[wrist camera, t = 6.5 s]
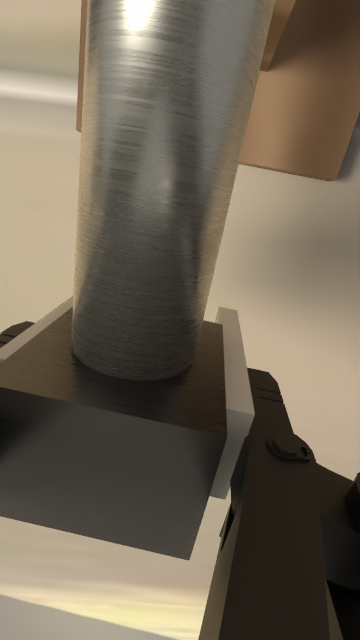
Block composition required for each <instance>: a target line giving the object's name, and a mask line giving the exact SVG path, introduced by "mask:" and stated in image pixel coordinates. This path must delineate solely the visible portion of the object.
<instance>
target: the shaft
mask: <svg viewBox="0 0 360 640" xmlns="http://www.w3.org/2000/svg"><path fill="white" fill-rule="evenodd" d="M275 1H276V0H88V5H87V26H86V46H85V67H84V88H83V108H82V129H81V150H80V171H79V191H78V212H77V233H76V254H75V274H74V295H73V307H71V308H70V309H69V310H68V311H66V312H65V313H64V314H63V315H61V316H60V317H59V318H57V319H56V320H55V321H54V322H52V323H51V324H50V325H49V326H47V327H46V328H45V329H43V330H42V331H41V332H40V333H38V334H37V335H36V336H35V337H33V338H32V339H31V340H29V341H28V342H27V343H26V344H24V345H23V346H22V347H21V348H19V349H18V350H17V351H16V352H14V353H13V354H12V355H10V356H9V357H8V358H7V359H5V360H4V361H3V362H2V363H0V516H2V517H6V518H11V519H15V520H19V521H23V522H28V523H32V524H36V525H40V526H45V527H49V528H53V529H57V530H62V531H66V532H70V533H74V534H79V535H83V536H87V537H91V538H96V539H100V540H104V541H108V542H113V543H117V544H121V545H125V546H130V547H134V548H138V549H142V550H147V551H151V552H155V553H159V554H164V555H168V556H172V557H176V558H181V559H185V560H189V559H190V556H191V553H192V550H193V546H194V543H195V540H196V537H197V534H198V530H199V527H200V524H201V521H202V517H203V514H204V511H205V508H206V505H207V501H208V498H209V495H210V492H211V488H212V485H213V482H214V479H215V476H216V472H217V469H218V466H219V463H220V460H221V456H222V453H223V450H224V447H225V443H226V440H227V414H226V391H225V368H224V344H223V325H222V324H218V323H213V322H208V321H203V318H204V313H205V309H206V304H207V300H208V296H209V291H210V287H211V282H212V278H213V274H214V269H215V265H216V260H217V256H218V252H219V247H220V243H221V238H222V234H223V230H224V225H225V221H226V216H227V212H228V208H229V203H230V199H231V194H232V190H233V185H234V181H235V177H236V172H237V168H238V163H239V159H240V155H241V150H242V146H243V141H244V137H245V133H246V128H247V124H248V119H249V115H250V111H251V106H252V102H253V97H254V93H255V89H256V84H257V80H258V75H259V71H260V67H261V62H262V58H263V53H264V49H265V45H266V40H267V36H268V31H269V27H270V23H271V18H272V14H273V9H274V5H275Z"/></svg>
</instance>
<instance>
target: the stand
mask: <svg viewBox="0 0 360 640" xmlns="http://www.w3.org/2000/svg"><path fill="white" fill-rule="evenodd" d="M87 5H88V0H82V7H81V30H80V54H79V77H78V101H77V124H76V130H77V131H79V132H81V129H82V108H83V88H84V67H85V46H86V26H87ZM359 113H360V0H276V1H275V5H274V9H273V14H272V18H271V23H270V27H269V31H268V36H267V40H266V45H265V49H264V53H263V58H262V62H261V67H260V71H259V75H258V80H257V84H256V89H255V93H254V97H253V102H252V106H251V111H250V115H249V119H248V124H247V128H246V133H245V137H244V141H243V146H242V150H241V155H240V159H239V163H238V164H242V165H248V166H253V167H258V168H263V169H268V170H274V171H279V172H284V173H289V174H294V175H300V176H305V177H310V178H315V179H320V180H326V181H332V180H336V179H337V177H338V174H339V171H340V168H341V165H342V162H343V159H344V156H345V153H346V150H347V147H348V145H349V142H350V139H351V136H352V133H353V130H354V127H355V124H356V121H357V118H358V115H359Z"/></svg>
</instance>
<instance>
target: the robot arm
mask: <svg viewBox="0 0 360 640" xmlns="http://www.w3.org/2000/svg"><path fill="white" fill-rule="evenodd" d="M71 307H73V296H72V297H71V298H70V299H68V300H67V301H66V302H64V303H63V304H61V305H60V306H59V307H57V308H56V309H54V310H53V311H52V312H50V313H49V314H47V315H46V316H45V317H43V318H42V319H40V320H39V321H38V322H36V323H33V322H28V321H26V322H23V323H20V324H16V325H13V326H11V327H9V328H8V329H6V330H5V331H3V332H2V333H1V334H0V363H2V362H3V361H4V360H5V359H7V358H8V357H9V356H10V355H12V354H13V353H14V352H16V351H17V350H18V349H19V348H21V347H22V346H23V345H24V344H26V343H27V342H28V341H29V340H31V339H32V338H33V337H35V336H36V335H37V334H38V333H40V332H41V331H42V330H43V329H45V328H46V327H47V326H49V325H50V324H51V323H52V322H54V321H55V320H56V319H57V318H59V317H60V316H61V315H63V314H64V313H65V312H66V311H68V310H69V309H70V308H71ZM215 323H218V324H222V325H223V344H224V368H225V391H226V414H227V440H226V443H225V447H224V450H223V453H222V456H221V460H220V463H219V466H218V469H217V472H216V476H215V479H214V482H213V485H212V488H211V492H210V495H209V496H212V497H217V498H221V499H226V496H227V494H228V491H229V488H230V486H231V504H230V507H229V510H228V513H227V515H226V518H225V521H224V524H223V527H222V529H221V532H220V535H219V536H220V537H222V538H221V542H220V546H219V551H218V555H217V560H216V564H215V569H214V573H213V578H212V582H211V586H210V591H209V595H208V600H207V604H206V609H205V613H204V617H203V622H202V626H201V631H200V635H199V640H360V472H359V473H358V474H357V476H356V478H355V479H354V481H352V480H350V479H347V478H345V477H343V476H341V475H339V474H337V473H335V472H332V471H330V470H328V469H326V468H325V467H323V466H321V465H319V464H318V463H316V460H315V457H314V454H313V451H312V450H311V449H310V447H309V446H308V445H307V444H306V442H304V441H303V440H302V439H301V438H299V437H298V436H297V435H295V434H294V433H293V430H292V427H291V424H290V420H289V417H288V414H287V411H286V408H285V405H284V404H283V399H282V395H280V393H281V392H280V389H279V386H278V383H277V381H276V380H275V379H274V378H273V377H272V376H271V375H270V374H269V372H265V371H260V370H256V369H251V368H247V366H246V360H245V354H244V348H243V342H242V336H241V331H240V325H239V319H238V313H237V310H232V309H227V308H223V307H219V309H218V313H217V317H216V321H215Z"/></svg>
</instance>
